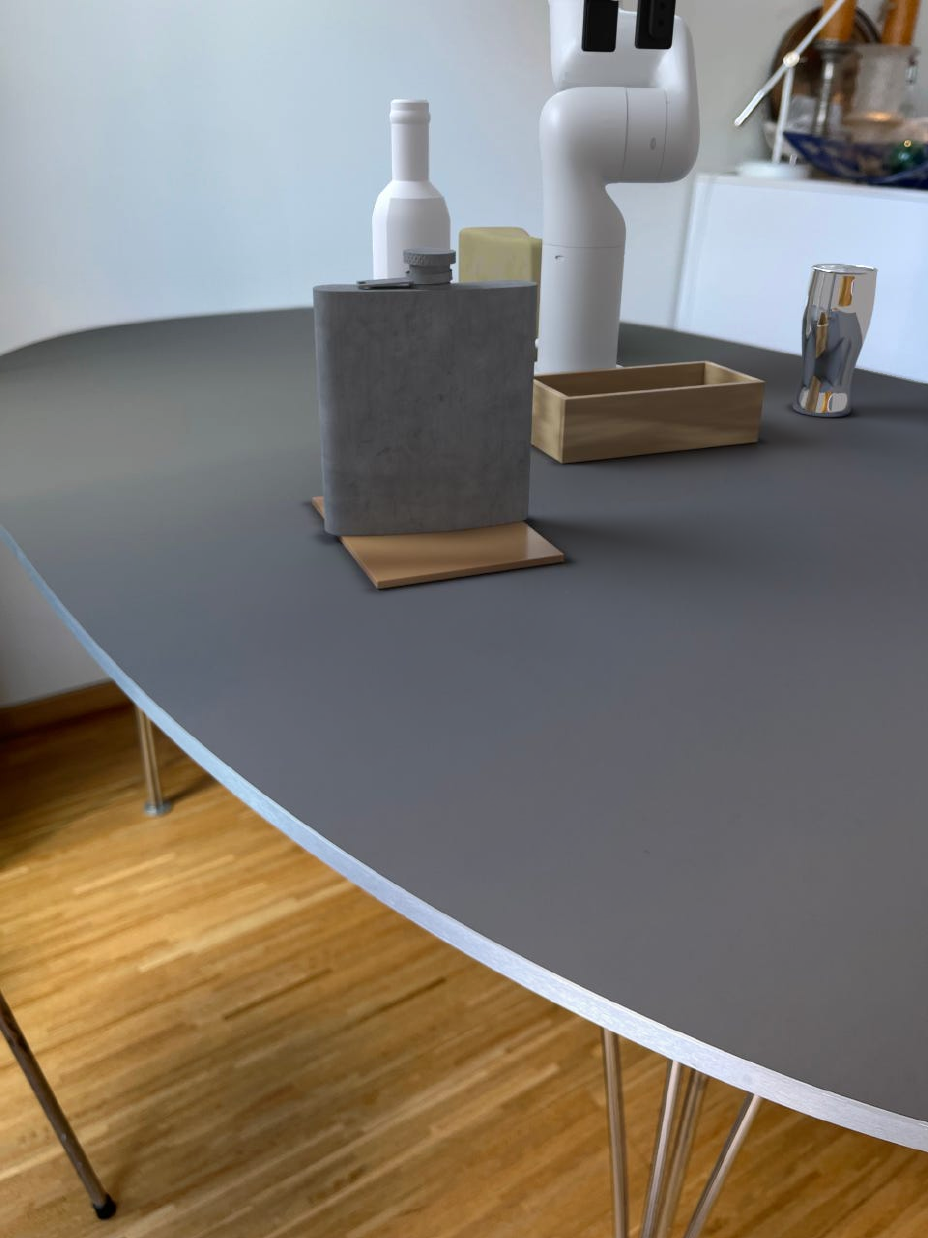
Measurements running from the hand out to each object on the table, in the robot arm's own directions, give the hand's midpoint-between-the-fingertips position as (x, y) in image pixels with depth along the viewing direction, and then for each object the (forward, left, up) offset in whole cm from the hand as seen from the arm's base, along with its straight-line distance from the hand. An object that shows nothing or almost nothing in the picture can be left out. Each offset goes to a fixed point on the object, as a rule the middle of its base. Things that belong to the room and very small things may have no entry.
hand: (624, 50), depth 89 cm
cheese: (-43, +9, -34) cm, 55 cm away
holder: (+2, +3, -34) cm, 34 cm away
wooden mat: (+19, -25, -34) cm, 46 cm away
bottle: (-14, -15, -34) cm, 40 cm away
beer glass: (-1, +28, -34) cm, 44 cm away
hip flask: (+19, -25, -34) cm, 46 cm away
